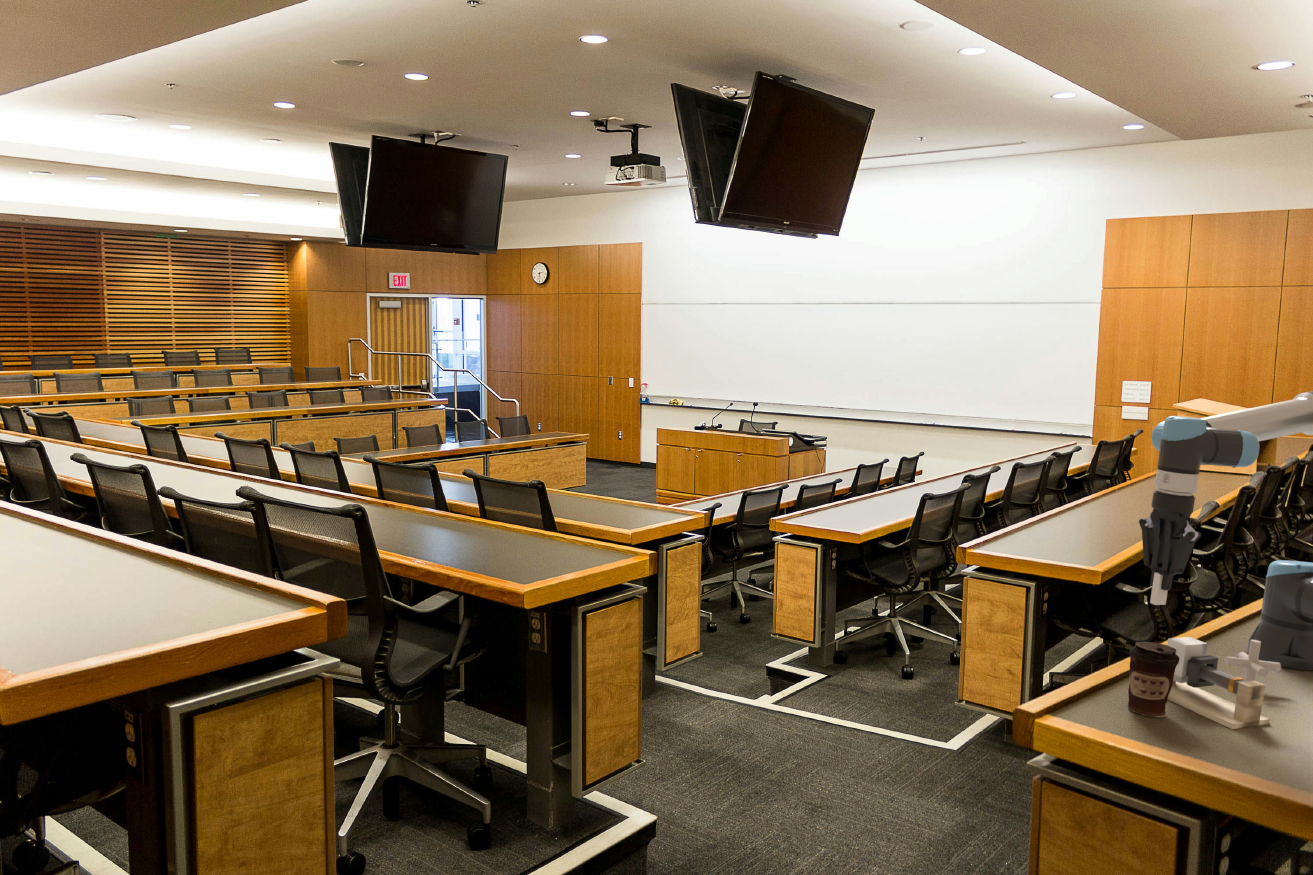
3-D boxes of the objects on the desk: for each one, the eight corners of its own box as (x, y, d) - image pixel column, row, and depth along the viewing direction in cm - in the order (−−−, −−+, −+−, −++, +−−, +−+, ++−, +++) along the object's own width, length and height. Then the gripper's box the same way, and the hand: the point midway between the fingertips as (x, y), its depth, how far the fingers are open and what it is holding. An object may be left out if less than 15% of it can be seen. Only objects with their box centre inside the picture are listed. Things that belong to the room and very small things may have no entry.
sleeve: (1184, 673, 189) (1189, 636, 188) (1202, 680, 186) (1207, 643, 185) (1163, 675, 187) (1168, 638, 186) (1180, 683, 183) (1185, 645, 183)
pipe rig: (1176, 683, 193) (1181, 646, 192) (1269, 723, 175) (1275, 683, 174) (1141, 687, 190) (1146, 649, 189) (1232, 728, 171) (1238, 687, 170)
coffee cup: (1171, 725, 171) (1180, 658, 169) (1121, 713, 175) (1130, 647, 173) (1171, 709, 179) (1180, 645, 177) (1123, 698, 183) (1132, 635, 181)
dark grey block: (1206, 682, 184) (1210, 655, 184) (1214, 685, 183) (1218, 658, 182) (1186, 684, 182) (1190, 657, 182) (1194, 687, 181) (1198, 660, 180)
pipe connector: (1286, 699, 188) (1293, 652, 187) (1232, 692, 190) (1239, 645, 189) (1264, 681, 198) (1271, 636, 197) (1213, 674, 200) (1220, 630, 199)
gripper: (1134, 485, 193) (1118, 594, 196) (1189, 498, 181) (1172, 614, 184) (1160, 486, 196) (1144, 593, 199) (1216, 498, 184) (1199, 612, 187)
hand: (1157, 603), depth 192 cm, fingers closed
